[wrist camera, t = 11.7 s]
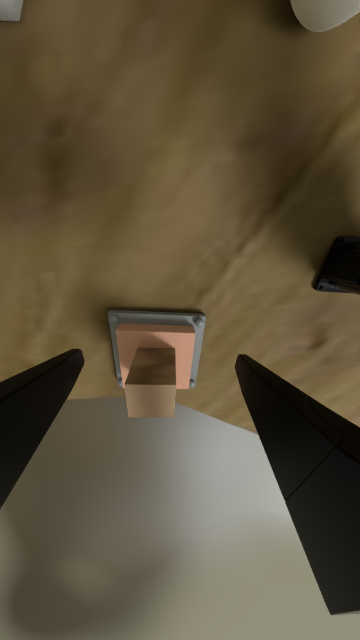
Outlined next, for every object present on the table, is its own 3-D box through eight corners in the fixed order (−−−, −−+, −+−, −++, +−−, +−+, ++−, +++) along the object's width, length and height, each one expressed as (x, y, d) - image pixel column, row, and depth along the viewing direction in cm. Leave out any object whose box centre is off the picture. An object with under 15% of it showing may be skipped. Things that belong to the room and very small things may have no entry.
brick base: (204, 313, 22) (208, 323, 19) (194, 380, 27) (197, 395, 25) (110, 309, 21) (101, 318, 18) (120, 379, 27) (114, 394, 24)
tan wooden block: (175, 348, 21) (176, 385, 15) (173, 376, 23) (174, 417, 17) (137, 347, 20) (124, 384, 15) (139, 375, 22) (128, 417, 17)
